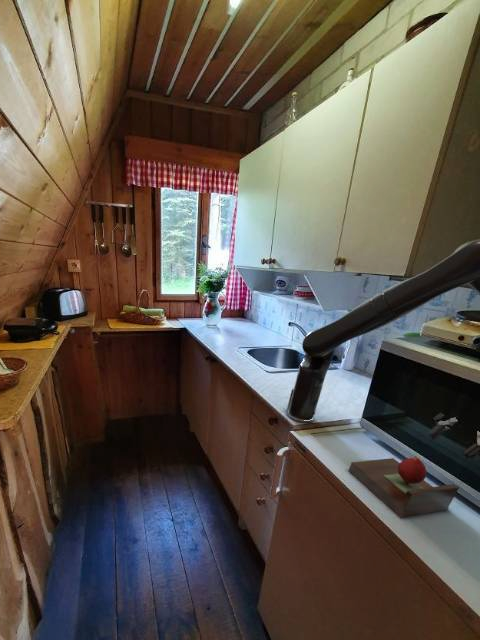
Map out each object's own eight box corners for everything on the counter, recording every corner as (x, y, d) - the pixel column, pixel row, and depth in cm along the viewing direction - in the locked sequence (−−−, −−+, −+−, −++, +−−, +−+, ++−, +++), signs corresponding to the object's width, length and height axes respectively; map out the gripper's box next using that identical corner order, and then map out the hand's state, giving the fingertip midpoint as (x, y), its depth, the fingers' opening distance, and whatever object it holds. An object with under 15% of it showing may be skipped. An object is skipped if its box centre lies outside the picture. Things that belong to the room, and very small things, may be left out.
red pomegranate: (411, 477, 81) (423, 451, 78) (425, 492, 75) (438, 465, 72) (389, 473, 81) (400, 448, 78) (400, 488, 76) (413, 462, 73)
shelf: (348, 470, 86) (355, 450, 83) (389, 466, 90) (398, 446, 88) (400, 517, 71) (412, 494, 68) (447, 509, 75) (459, 487, 73)
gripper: (466, 384, 81) (416, 423, 82) (533, 409, 68) (474, 455, 69) (471, 401, 84) (423, 439, 85) (536, 428, 71) (479, 472, 72)
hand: (446, 446), depth 77 cm, fingers open, 8 cm apart
